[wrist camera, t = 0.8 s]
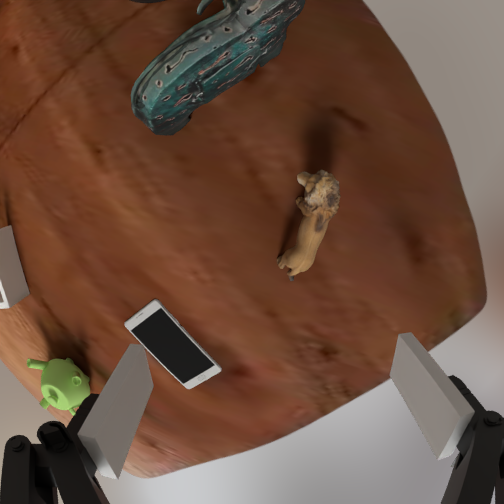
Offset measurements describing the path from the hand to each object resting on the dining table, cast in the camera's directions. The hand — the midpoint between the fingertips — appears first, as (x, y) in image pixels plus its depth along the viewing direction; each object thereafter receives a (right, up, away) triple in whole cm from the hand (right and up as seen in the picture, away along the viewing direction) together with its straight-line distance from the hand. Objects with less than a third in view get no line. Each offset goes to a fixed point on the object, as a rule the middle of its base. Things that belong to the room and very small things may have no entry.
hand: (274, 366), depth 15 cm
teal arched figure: (-5, +27, +21) cm, 34 cm away
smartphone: (-13, -8, +31) cm, 34 cm away
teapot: (-34, -16, +32) cm, 49 cm away
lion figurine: (+5, +10, +25) cm, 28 cm away
